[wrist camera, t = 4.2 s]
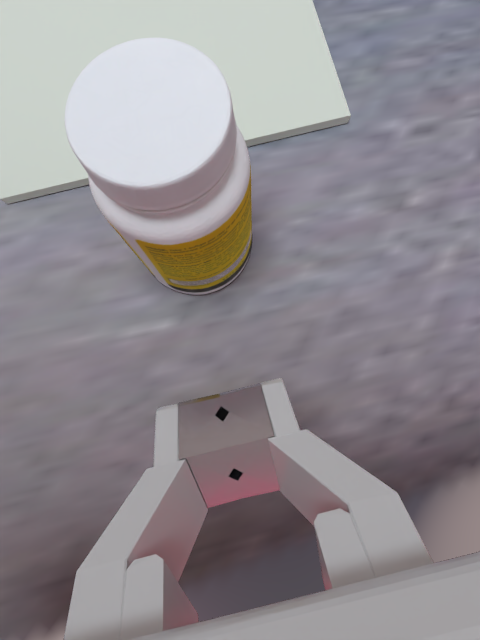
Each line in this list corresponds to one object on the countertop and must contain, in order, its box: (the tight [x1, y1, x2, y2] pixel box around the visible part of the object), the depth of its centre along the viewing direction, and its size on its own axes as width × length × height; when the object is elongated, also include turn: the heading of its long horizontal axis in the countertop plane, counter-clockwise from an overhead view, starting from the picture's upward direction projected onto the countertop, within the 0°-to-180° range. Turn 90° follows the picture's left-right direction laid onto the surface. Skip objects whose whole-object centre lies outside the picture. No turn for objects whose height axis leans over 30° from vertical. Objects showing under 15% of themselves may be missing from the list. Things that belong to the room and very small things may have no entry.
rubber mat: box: [0, 0, 351, 204], centre depth 19 cm, size 16×12×1 cm
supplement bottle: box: [64, 38, 252, 295], centre depth 13 cm, size 5×5×8 cm
